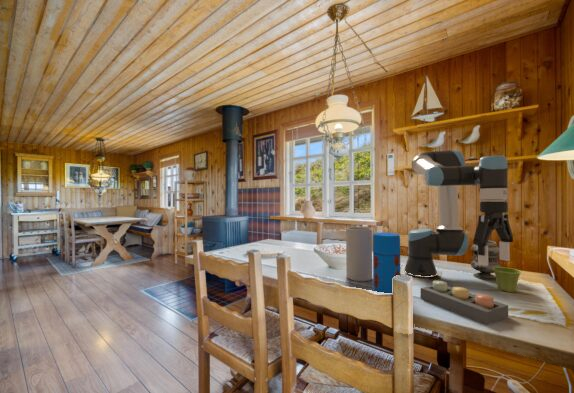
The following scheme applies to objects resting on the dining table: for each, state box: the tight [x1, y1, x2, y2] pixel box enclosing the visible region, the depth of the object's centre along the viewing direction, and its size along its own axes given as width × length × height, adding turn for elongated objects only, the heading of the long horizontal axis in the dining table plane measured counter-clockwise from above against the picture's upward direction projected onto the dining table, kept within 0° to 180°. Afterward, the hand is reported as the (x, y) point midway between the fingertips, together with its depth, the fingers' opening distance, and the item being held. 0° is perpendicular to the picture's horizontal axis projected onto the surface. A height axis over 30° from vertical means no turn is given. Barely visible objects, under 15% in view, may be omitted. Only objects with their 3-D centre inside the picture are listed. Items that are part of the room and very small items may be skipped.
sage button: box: [432, 280, 448, 293], centre depth 103 cm, size 5×5×4 cm
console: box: [420, 284, 509, 326], centre depth 95 cm, size 24×12×4 cm, turn 24°
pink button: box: [474, 293, 495, 309], centre depth 88 cm, size 5×5×4 cm
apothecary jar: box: [470, 240, 502, 281], centre depth 129 cm, size 12×12×18 cm
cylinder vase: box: [345, 226, 373, 282], centre depth 130 cm, size 12×12×25 cm
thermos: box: [372, 232, 401, 293], centre depth 110 cm, size 11×11×25 cm
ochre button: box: [452, 286, 470, 300], centre depth 95 cm, size 5×5×4 cm
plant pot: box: [493, 266, 522, 293], centre depth 112 cm, size 9×9×9 cm
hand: (494, 262), depth 89 cm, fingers open, 13 cm apart
